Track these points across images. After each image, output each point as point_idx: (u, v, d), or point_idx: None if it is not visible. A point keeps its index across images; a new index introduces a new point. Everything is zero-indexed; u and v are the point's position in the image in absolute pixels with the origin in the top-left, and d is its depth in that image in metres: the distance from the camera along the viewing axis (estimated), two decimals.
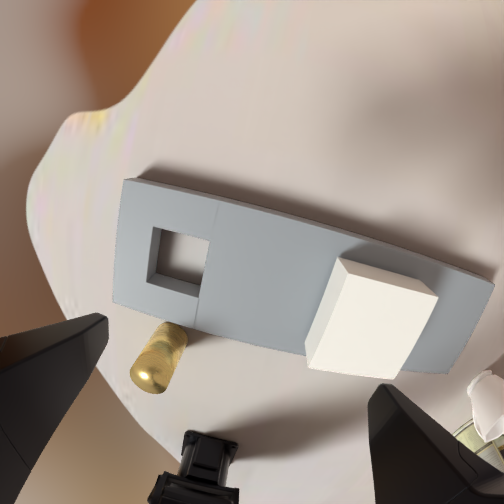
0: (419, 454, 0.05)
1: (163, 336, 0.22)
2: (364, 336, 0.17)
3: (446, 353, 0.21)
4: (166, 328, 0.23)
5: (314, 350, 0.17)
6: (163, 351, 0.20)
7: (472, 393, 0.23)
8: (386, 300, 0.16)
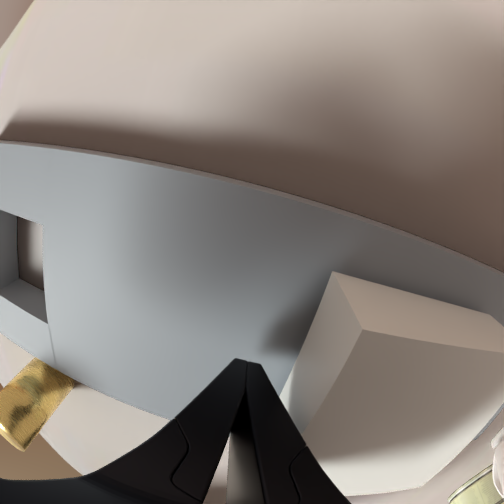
0: (247, 448, 0.05)
1: (30, 372, 0.11)
2: (381, 452, 0.06)
3: None
4: (39, 360, 0.12)
5: None
6: (20, 396, 0.09)
7: (498, 447, 0.12)
8: (448, 384, 0.05)
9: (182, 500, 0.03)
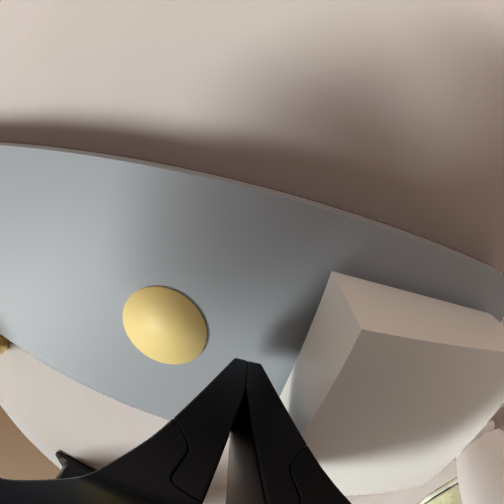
0: (247, 448, 0.05)
1: None
2: (382, 451, 0.06)
3: None
4: None
5: None
6: None
7: (459, 458, 0.12)
8: (448, 383, 0.05)
9: (182, 500, 0.03)
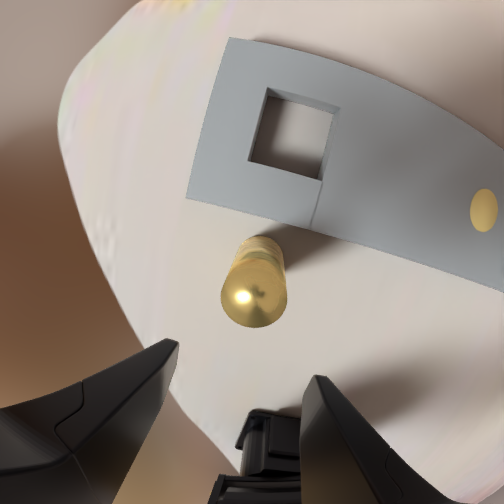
0: (338, 458, 0.05)
1: (262, 245, 0.16)
2: None
3: None
4: (260, 239, 0.17)
5: None
6: (271, 258, 0.14)
7: None
8: None
9: (55, 446, 0.03)
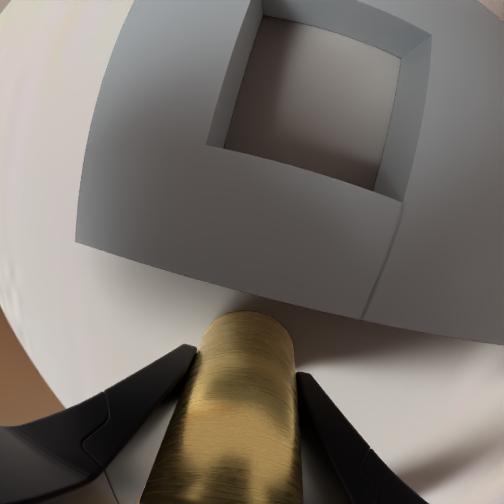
0: (316, 457, 0.05)
1: (249, 354, 0.06)
2: None
3: None
4: (246, 327, 0.08)
5: None
6: (269, 414, 0.05)
7: None
8: None
9: (84, 462, 0.03)
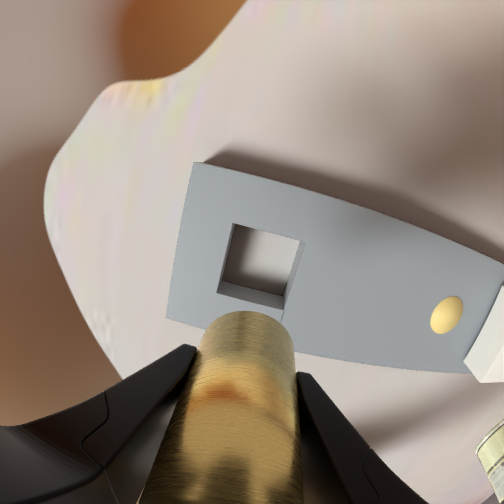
0: (316, 457, 0.05)
1: (249, 354, 0.06)
2: None
3: None
4: (246, 327, 0.08)
5: (486, 366, 0.14)
6: (270, 414, 0.05)
7: None
8: None
9: (84, 462, 0.03)
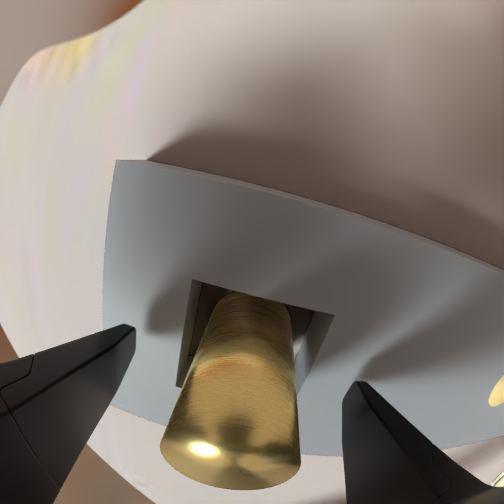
0: (389, 457, 0.05)
1: (253, 321, 0.08)
2: None
3: None
4: (250, 301, 0.09)
5: None
6: (270, 365, 0.06)
7: None
8: None
9: None
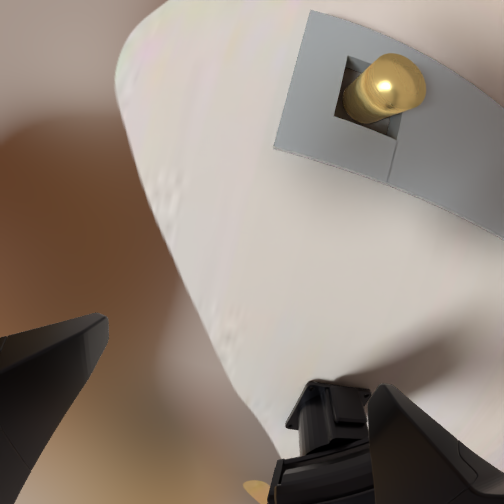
0: (419, 454, 0.05)
1: None
2: None
3: None
4: None
5: None
6: None
7: None
8: None
9: None
